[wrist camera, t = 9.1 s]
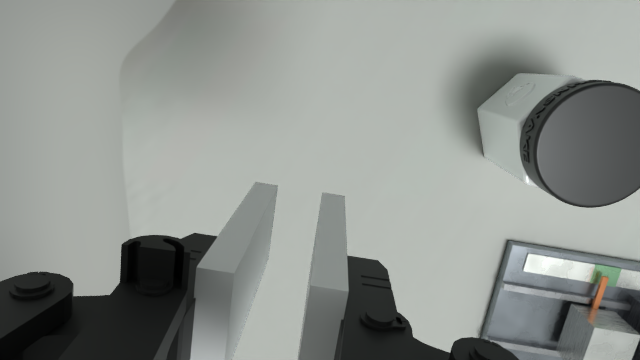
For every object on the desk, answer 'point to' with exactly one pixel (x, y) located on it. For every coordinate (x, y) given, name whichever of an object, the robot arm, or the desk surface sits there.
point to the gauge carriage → (596, 332)
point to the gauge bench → (554, 296)
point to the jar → (566, 136)
